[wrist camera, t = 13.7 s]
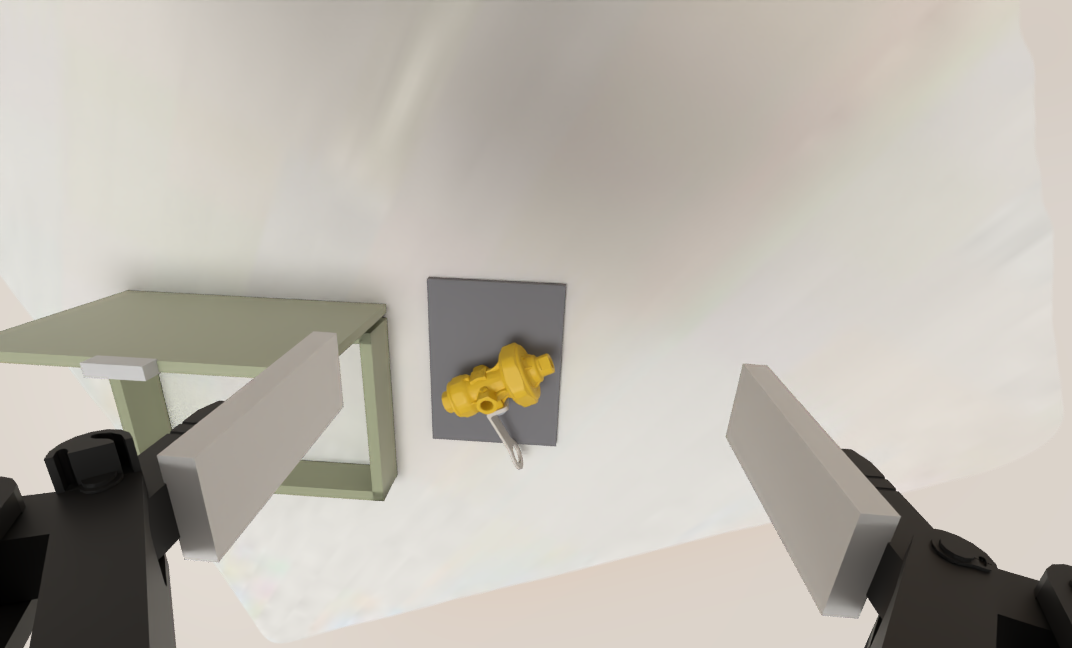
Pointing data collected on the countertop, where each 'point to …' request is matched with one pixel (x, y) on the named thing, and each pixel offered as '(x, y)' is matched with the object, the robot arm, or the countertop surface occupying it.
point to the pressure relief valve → (499, 389)
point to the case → (217, 363)
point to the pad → (494, 351)
